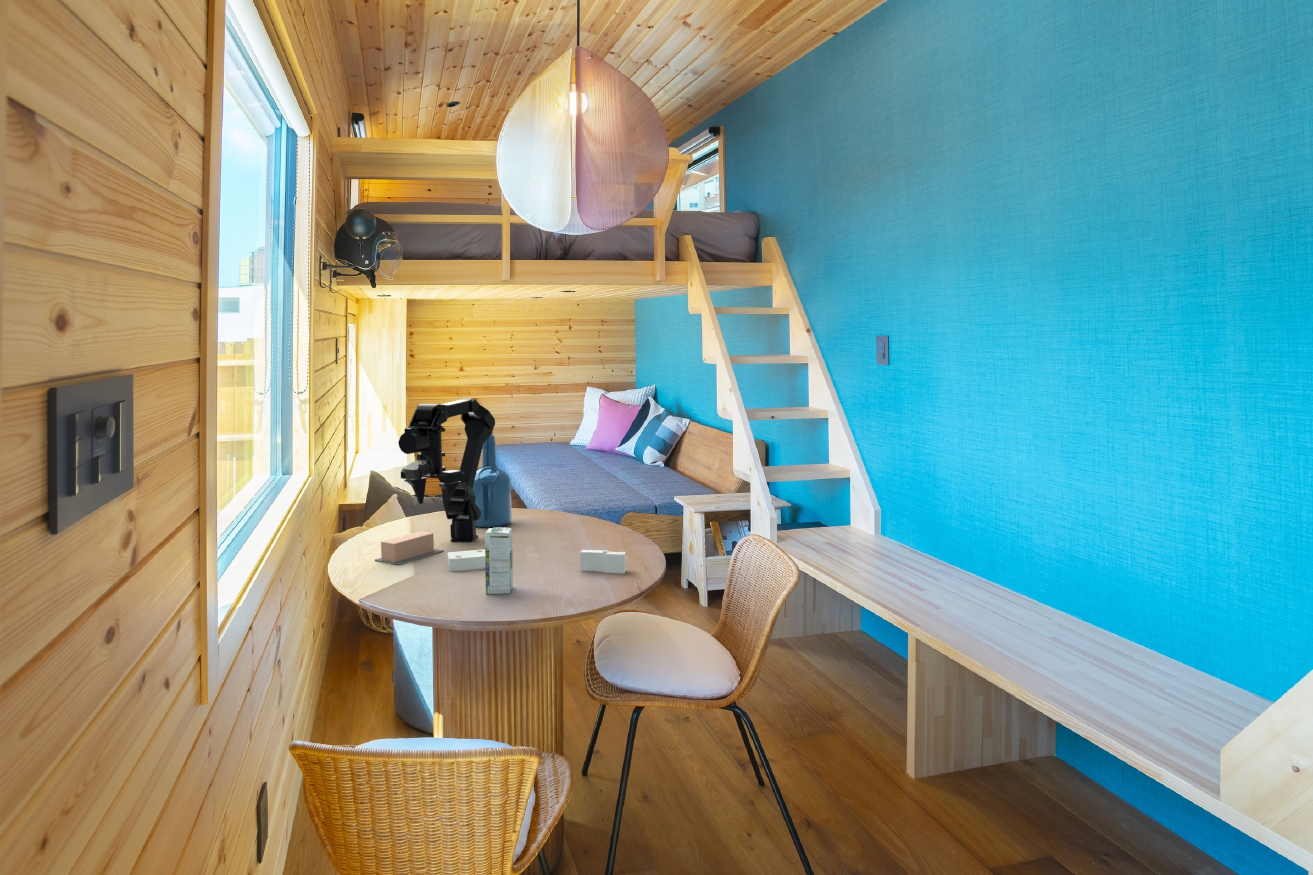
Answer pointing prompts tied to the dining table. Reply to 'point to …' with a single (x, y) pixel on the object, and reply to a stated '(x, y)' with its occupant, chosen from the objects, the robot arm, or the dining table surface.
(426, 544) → the terracotta block
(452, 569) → the bracket
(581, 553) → the white stepped block
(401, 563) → the mat
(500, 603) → the dining table surface
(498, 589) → the syrup box
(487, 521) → the blue bottle
